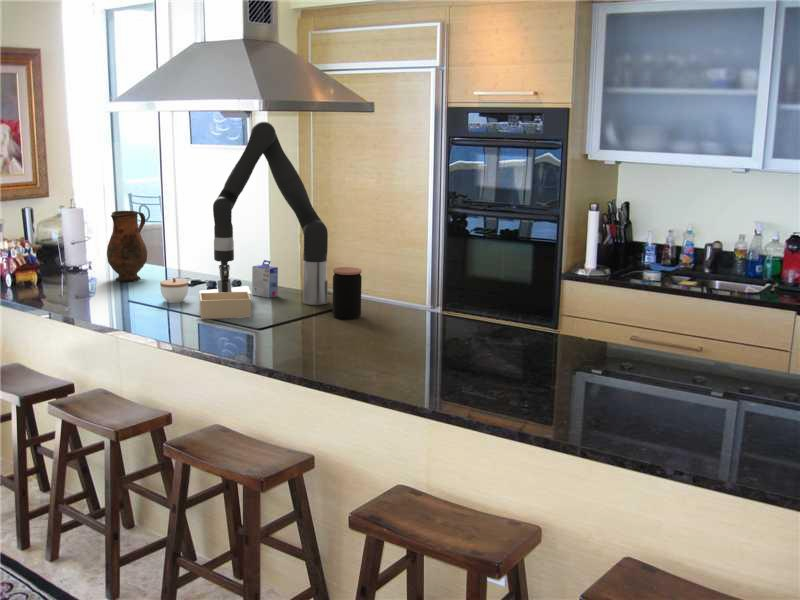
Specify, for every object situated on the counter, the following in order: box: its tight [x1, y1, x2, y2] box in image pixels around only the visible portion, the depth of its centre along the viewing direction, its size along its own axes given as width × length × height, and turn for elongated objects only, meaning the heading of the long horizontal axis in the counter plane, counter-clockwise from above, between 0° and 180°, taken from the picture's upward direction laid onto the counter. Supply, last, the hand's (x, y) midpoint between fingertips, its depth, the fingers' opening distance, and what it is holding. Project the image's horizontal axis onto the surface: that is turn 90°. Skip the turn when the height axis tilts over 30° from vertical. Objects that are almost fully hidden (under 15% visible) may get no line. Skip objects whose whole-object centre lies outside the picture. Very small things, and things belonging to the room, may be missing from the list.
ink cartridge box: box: [251, 259, 279, 299], centre depth 333 cm, size 10×6×14 cm, turn 58°
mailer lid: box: [199, 278, 253, 301], centre depth 318 cm, size 19×14×8 cm
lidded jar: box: [159, 277, 189, 304], centre depth 319 cm, size 11×11×9 cm
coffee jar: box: [332, 266, 363, 321], centre depth 302 cm, size 11×11×18 cm
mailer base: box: [199, 292, 252, 320], centre depth 301 cm, size 18×13×7 cm
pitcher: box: [106, 210, 148, 283], centre depth 356 cm, size 17×21×30 cm
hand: (224, 291), depth 318 cm, fingers closed on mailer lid, 1 cm apart
